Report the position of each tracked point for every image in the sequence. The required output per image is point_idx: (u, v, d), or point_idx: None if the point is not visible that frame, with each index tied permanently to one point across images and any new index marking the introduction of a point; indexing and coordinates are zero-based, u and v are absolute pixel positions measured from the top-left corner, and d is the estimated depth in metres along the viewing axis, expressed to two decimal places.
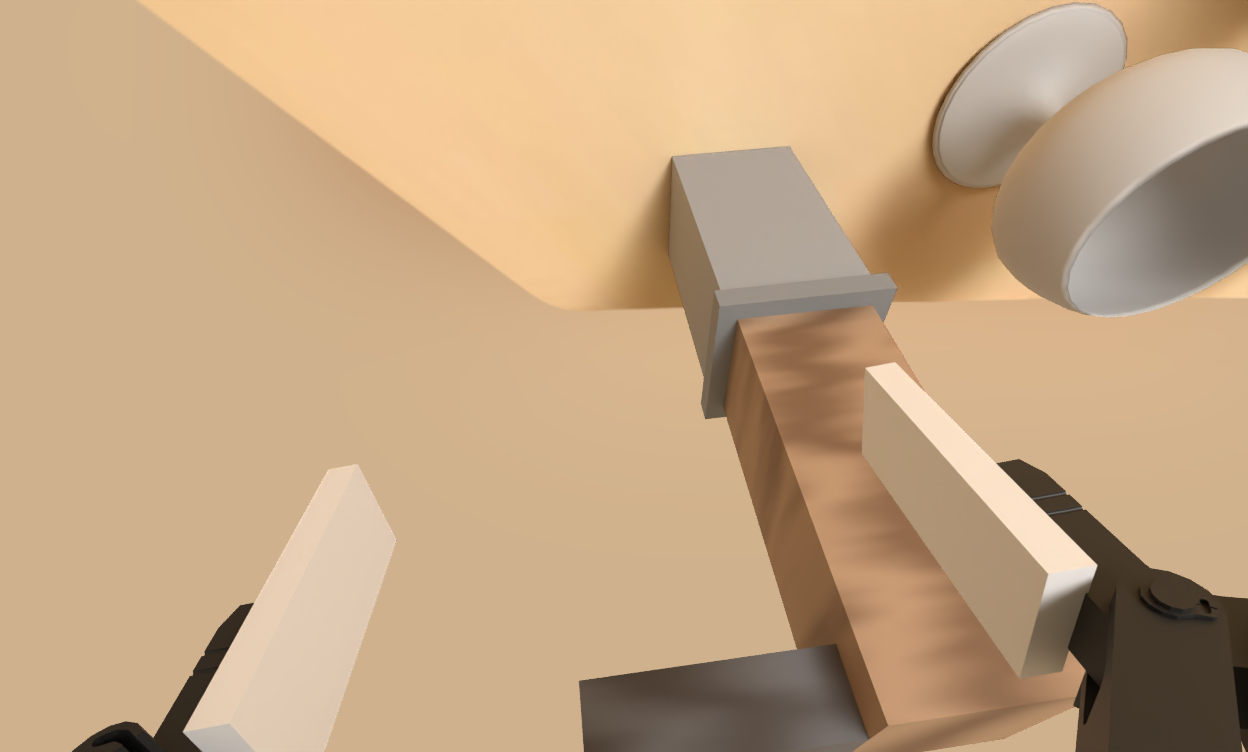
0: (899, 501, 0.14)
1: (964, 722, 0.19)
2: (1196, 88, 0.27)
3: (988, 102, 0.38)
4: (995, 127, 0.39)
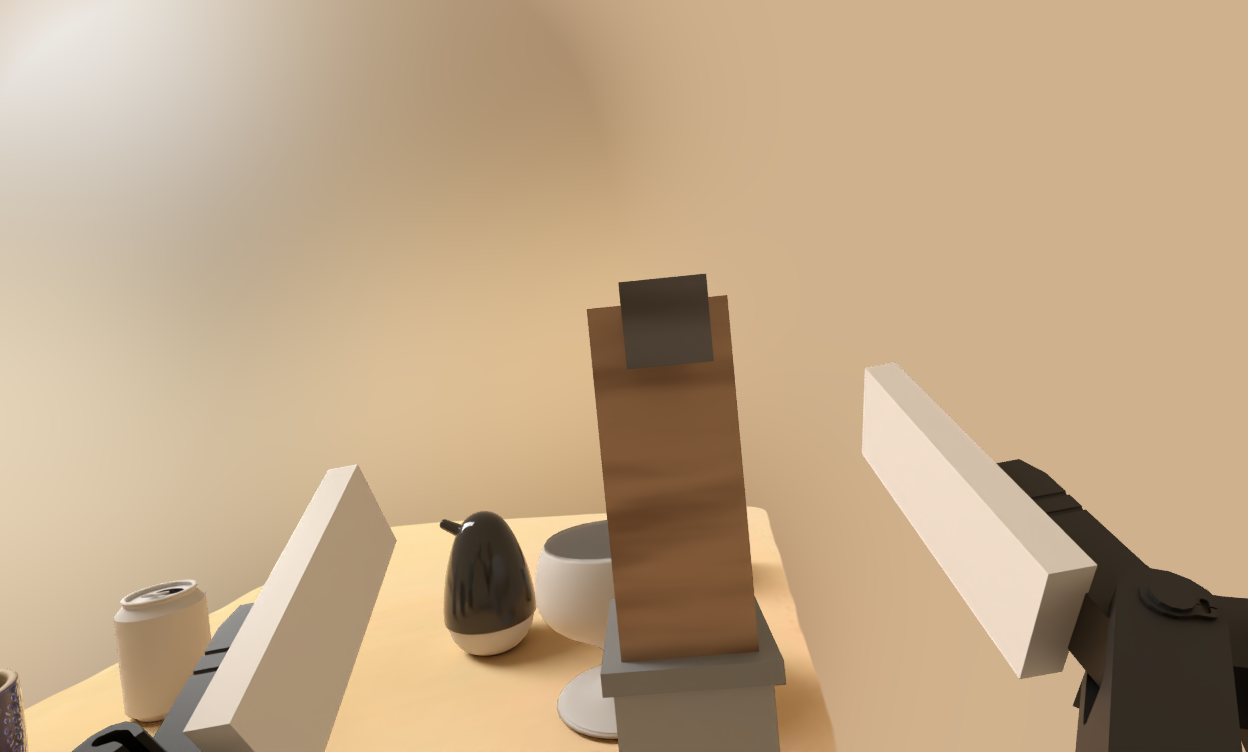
0: (899, 500, 0.14)
1: None
2: (537, 580, 0.52)
3: (612, 710, 0.51)
4: None
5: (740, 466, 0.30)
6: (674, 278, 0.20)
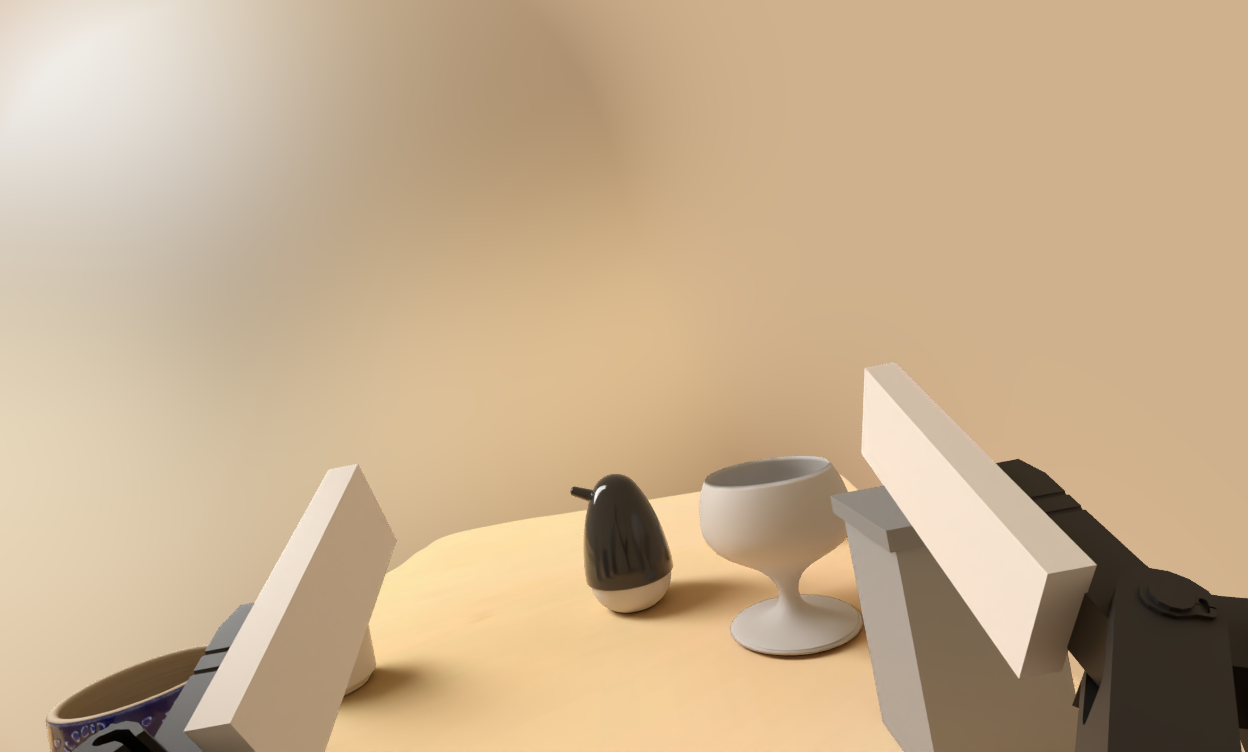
0: (899, 500, 0.14)
1: None
2: (707, 514, 0.54)
3: (794, 632, 0.53)
4: (808, 620, 0.54)
5: None
6: None
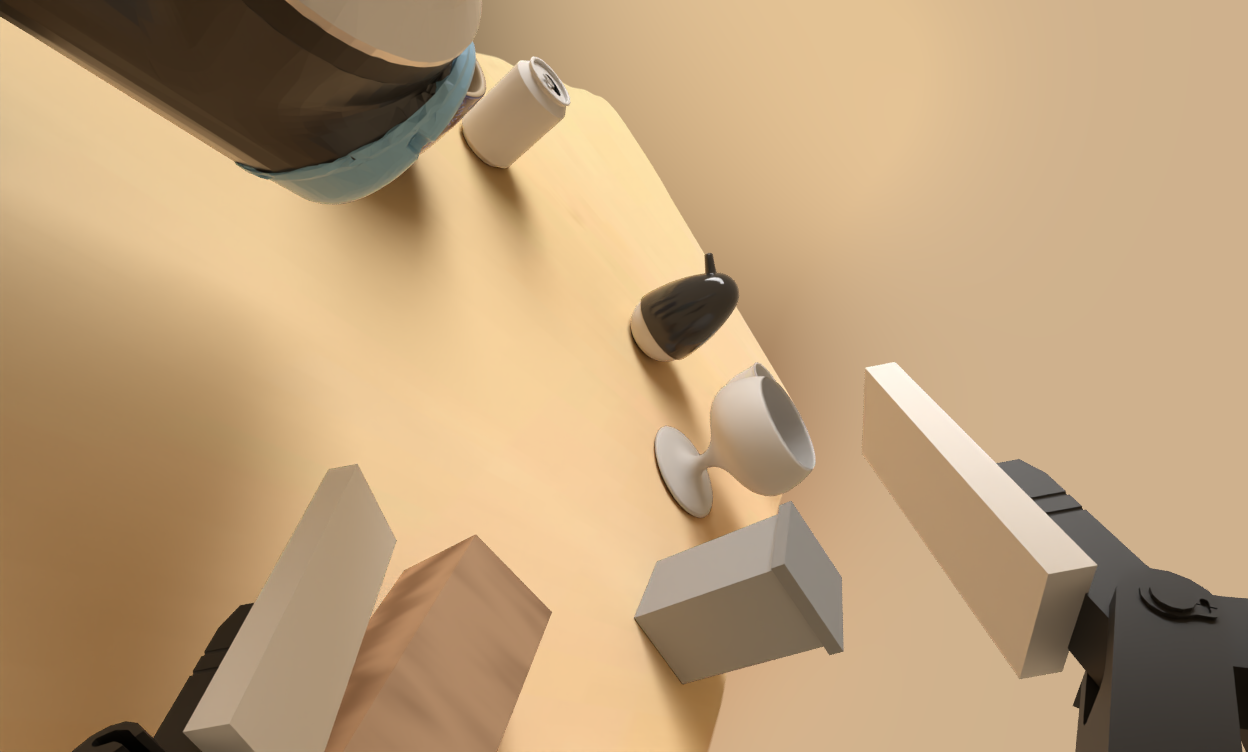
0: (899, 501, 0.14)
1: None
2: (738, 394, 0.66)
3: (679, 477, 0.71)
4: (690, 482, 0.72)
5: None
6: None
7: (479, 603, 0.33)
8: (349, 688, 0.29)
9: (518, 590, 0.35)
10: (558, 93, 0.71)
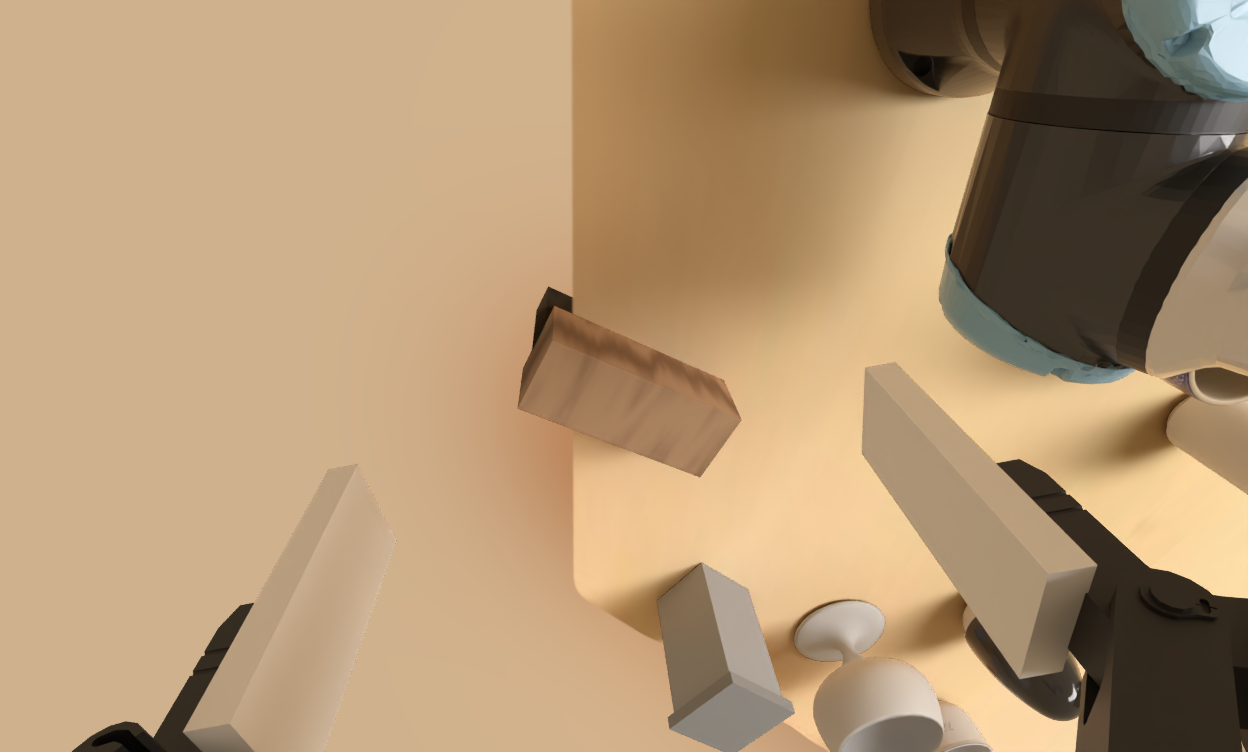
0: (900, 501, 0.14)
1: (546, 333, 0.51)
2: (913, 689, 0.65)
3: (830, 623, 0.76)
4: (826, 635, 0.77)
5: None
6: (541, 302, 0.62)
7: (697, 427, 0.52)
8: (648, 362, 0.52)
9: (710, 452, 0.54)
10: None
